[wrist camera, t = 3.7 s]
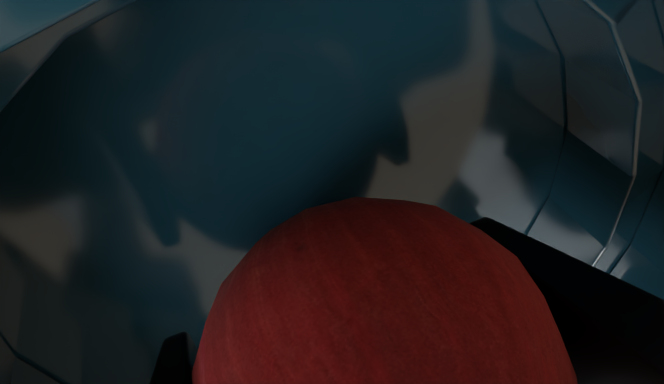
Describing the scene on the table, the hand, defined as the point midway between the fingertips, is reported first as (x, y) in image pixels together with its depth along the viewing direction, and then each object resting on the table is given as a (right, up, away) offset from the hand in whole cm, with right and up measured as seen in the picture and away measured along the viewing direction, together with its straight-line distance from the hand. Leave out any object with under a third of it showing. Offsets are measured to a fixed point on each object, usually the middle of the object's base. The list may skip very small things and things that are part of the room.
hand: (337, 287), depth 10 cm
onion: (-1, +1, +1) cm, 2 cm away
